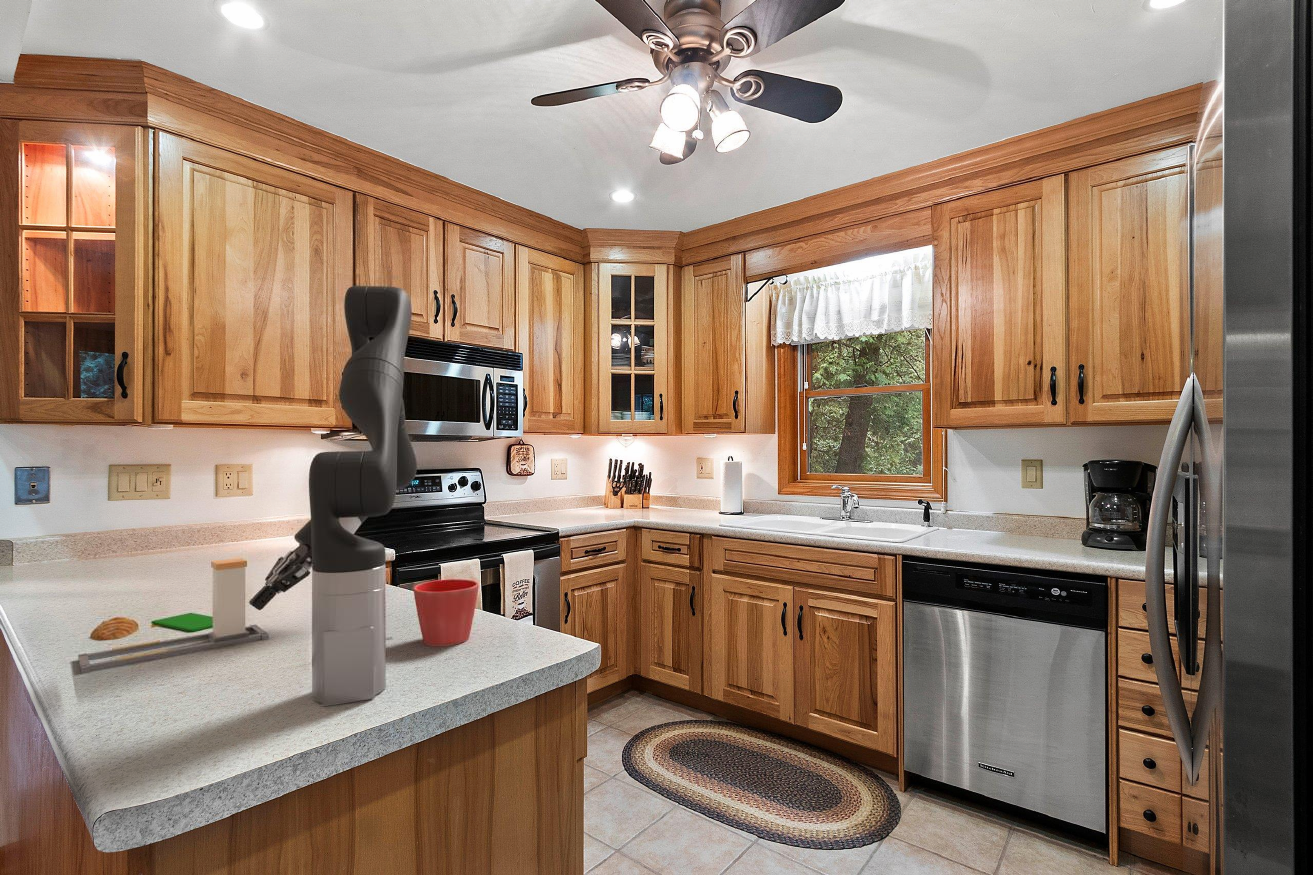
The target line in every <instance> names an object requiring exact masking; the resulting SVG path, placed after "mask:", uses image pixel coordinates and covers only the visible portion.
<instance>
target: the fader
mask: <svg viewBox="0 0 1313 875" xmlns="http://www.w3.org/2000/svg"><path fill="white" fill-rule="evenodd" d="M210 567H211V568H212V617H213V627H212V632H208V641H209V643H210V642H216V641H222V640H227V639H233V638H238V637H244V636H249V635H250V632H248V631H247V630H246V629H245V627H246V568H247V567H248V560H246V559H243V558H242V557H238V558H230V559H221V560H220V559H219V560H211V561H210Z"/></svg>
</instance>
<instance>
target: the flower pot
mask: <svg viewBox="0 0 1313 875" xmlns="http://www.w3.org/2000/svg"><path fill="white" fill-rule="evenodd" d="M479 586H480V584H479V582H478V581H475V580H472V579H461V578H460V579H459V578H458V579H457V578H456V579H455V578H453V579H452V578H451V579H449V578H448V579H445V578H444V579H436V580H430V581H425V582H421V583H418V584H416V585H415V586H413V595H414V601H415V606H416V612H417V619H418V623H419V628H420V633H421V637H422V640H423V643H424V645H428V646H431V647H448V646H453V645H458V644H461V643H464V642H467V641H468V640H469V638H470V637H471V636H470V635H471V631H472V626H473V620H474V616H475V612H476V611H475V610H476V606H477V600H478V593H479V588H480V587H479Z"/></svg>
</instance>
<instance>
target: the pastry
mask: <svg viewBox="0 0 1313 875" xmlns="http://www.w3.org/2000/svg"><path fill="white" fill-rule="evenodd" d="M139 630H140V628H139V624H138V622H137V621H136V620H134V619H130V617H129V618H127V617H124V616H118V617H112V618H110V619H108V620H103V621H102V622H101V623H100V624H98V625H97V626H96V627H95V628H94V629H93V630H92V631H91V632H90V636H89V638H91V639H93V640H96V641H100V642H101V641H112V640H119V639H123V638H127V637H129V636H132V635H133V634H134V633H136V632H138V631H139Z"/></svg>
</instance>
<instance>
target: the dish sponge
mask: <svg viewBox="0 0 1313 875" xmlns="http://www.w3.org/2000/svg"><path fill="white" fill-rule="evenodd" d="M150 626H151V627H150V628H151V629H152V628H157V627H166V628H170V629H176V630H180V631H184V632H190V633H191V632H192V633H194V632H198V631H202V630H207V629H211V628H212V629H213V615H205V614H199V613H195V612H187V613H183V614H179V615H174V616H169V617H164V618H160V619H155V620H152V621H151V622H150Z"/></svg>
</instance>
